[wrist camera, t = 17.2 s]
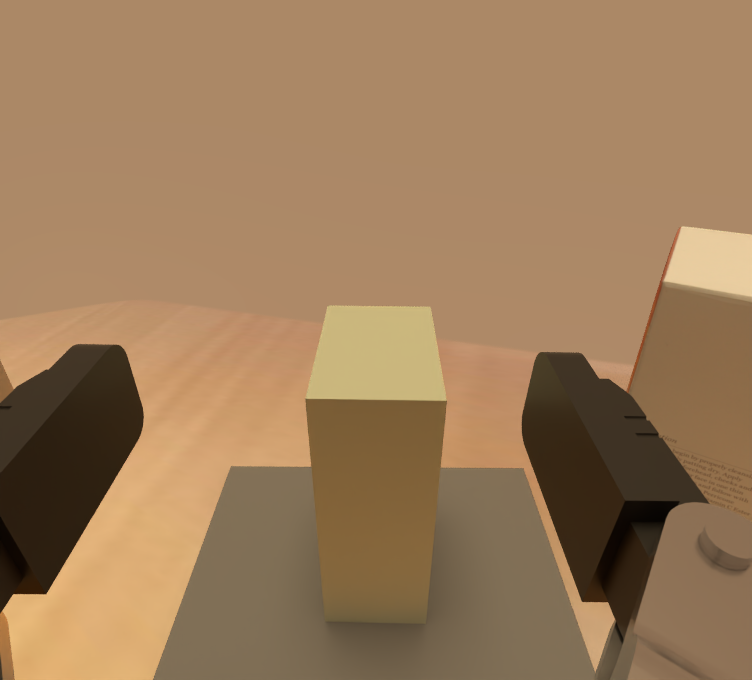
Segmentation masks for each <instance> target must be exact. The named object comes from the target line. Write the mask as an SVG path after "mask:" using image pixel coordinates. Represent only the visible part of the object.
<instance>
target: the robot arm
mask: <svg viewBox="0 0 752 680" xmlns="http://www.w3.org/2000/svg"><path fill="white" fill-rule="evenodd" d="M646 417H647V416H646V415H645V413H644V412H643V411H642V409H641V408H640V407H639V405H638V404H637V402H636V401H635V400H634V398H633V397H632V396H631V395H630V394H628V393H627V392H626V391H624V390H623V389H622V388H620V387H619V386H618V385H616V384H615V383H614V382H612V381H611V380H610V379H599V378H598V376H597V375H596V373H595V372H594V370H593V369H592V367H591V366H590V364H589V363H588V361H587V360H586V358H585V357H584V356H583V355H582V354H581V353H561V352H557V353H556V352H540V353H539V354H538V355H537V357H536V359H535V362H534V366H533V371H532V375H531V379H530V384H529V388H528V393H527V397H526V401H525V406H524V410H523V415H522V436H523V441H524V445H525V448H526V451H527V453H528V456H529V459H530V462H531V464H532V467H533V470H534V472H535V475H536V478H537V481H538V483H539V486H540V489H541V491H542V494H543V497H544V500H545V502H546V505H547V508H548V510H549V513H550V516H551V519H552V521H553V524H554V527H555V529H556V532H557V535H558V538H559V540H560V543H561V546H562V548H563V551H564V554H565V557H566V559H567V562H568V565H569V567H570V570H571V573H572V576H573V578H574V581H575V584H576V586H577V589H578V592H579V595H580V597H581V600H582V602H608V603H609V605H610V608H611V610H612V613H613V615H614V617H615V621H614V623H613V625H612V627H611V629H610V632H609V635H608V638H607V641H606V644H605V647H604V650H603V653H602V656H601V659H600V662H599V664H598V667H597V670H596V673H595V676H594V679H593V680H752V522H751V521H750V520H748V519H746V518H745V517H743V516H741V515H739V514H737V513H735V512H733V511H731V510H728V509H725V508H723V507H720V506H716V505H712V504H710V503H709V502H708V501H707V499H706V498H705V496H704V495H703V494H702V492H701V491H700V490H699V488H698V487H697V485H696V484H695V483H694V481H693V480H692V478H691V477H690V476H689V474H688V473H687V472H686V470H685V469H684V467H683V466H682V465H681V463H680V462H679V460H678V459H677V458H676V456H675V455H674V454H673V452H672V451H671V449H670V448H669V447H668V445H667V444H666V442H665V441H664V440H663V438H659V433H658V431H657V430H656V429H655V427H654V426H653V424H652V423H651V422H650V420H647V419H646ZM143 418H144V416H143V407H142V404H141V400H140V397H139V394H138V390H137V387H136V384H135V380H134V377H133V374H132V370H131V367H130V364H129V361H128V357H127V354H126V352H125V350H124V349H123V348H122V347H121V346H119V345H96V344H77V345H74V346H72V347H71V348H70V349H69V350H68V351H67V352H66V353H65V354H64V355H63V356H62V357H61V358H60V359H59V360H58V361H57V362H56V363H55V364H54V365H53V366H52V367H51V368H50V369H49V370H45V371H43V372H41V373H39V374H38V375H36V376H34V377H33V378H31V379H29V380H27V381H26V382H24V383H22V384H21V385H19V386H17V387H16V388H15V389H14V390H13V391H12V392H11V393H10V394H9V395H8V396H7V397H6V398H5V399H4V400H3V401H2V402H1V403H0V680H15V679H14V670H13V662H12V653H11V645H10V636H9V628H8V622H7V618H6V617H5V615H4V613H3V612H2V610H3V609H4V607H5V606H6V604H7V603H8V601H9V600H10V598H11V597H12V595H13V594H47V592H48V590H49V589H50V587H51V585H52V584H53V582H54V580H55V579H56V577H57V575H58V574H59V572H60V570H61V568H62V567H63V565H64V563H65V562H66V560H67V558H68V557H69V555H70V553H71V552H72V550H73V548H74V547H75V545H76V543H77V542H78V540H79V538H80V537H81V535H82V533H83V532H84V530H85V528H86V527H87V525H88V523H89V522H90V520H91V518H92V516H93V515H94V513H95V511H96V510H97V508H98V506H99V505H100V503H101V501H102V500H103V498H104V496H105V495H106V493H107V491H108V490H109V488H110V486H111V485H112V483H113V481H114V480H115V478H116V476H117V475H118V473H119V471H120V470H121V468H122V466H123V464H124V463H125V461H126V459H127V458H128V456H129V454H130V453H131V451H132V449H133V448H134V446H135V444H136V443H137V441H138V439H139V437H140V435H141V431H142V427H143Z"/></svg>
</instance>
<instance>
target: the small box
mask: <svg viewBox="0 0 752 680" xmlns="http://www.w3.org/2000/svg"><path fill="white" fill-rule="evenodd" d="M626 392H627V393H628V394H630V395H631V396H632V397H633V398H634V400H635V401H636V402H637V404H638V405H639V407H640V408H641V409H642V411H643V412H644V413H645V415H646V416H647V417H646V419H647V420H650V422H651V423H652V424H653V426H654V427H655V429H656V430H657V431H658V433H659V438H663V440H664V441H665V442H666V444H667V445H668V447H669V448H670V449H671V451H672V452H673V454H674V455H675V456H676V458H677V459H678V460H679V462H680V463H681V465H682V466H683V467H684V469H685V470H686V472H687V473H688V474H689V476H690V477H691V478H692V480H693V481H694V483H695V484H696V485H697V487H698V488H699V490H700V491H701V492H702V494H703V495H704V496H705V498H706V499H707V501H708V502H709V503H710V504H712V505H716V506H720V507H723V508H725V509H728V510H731V511H733V512H735V513H737V514H739V515H741V516H743V517H745V518H746V519H748V520H750V521H751V522H752V235H750V234H742V233H733V232H725V231H718V230H709V229H701V228H693V227H684V226H682V227H680V228H679V229H678V231H677V234H676V237H675V239H674V242H673V245H672V247H671V250H670V253H669V256H668V259H667V262H666V265H665V268H664V271H663V274H662V278H661V281H660V284H659V287H658V290H657V293H656V296H655V300H654V303H653V306H652V310H651V313H650V316H649V320H648V323H647V326H646V330H645V333H644V336H643V340H642V343H641V347H640V350H639V353H638V356H637V359H636V362H635V365H634V369H633V372H632V375H631V378H630V382H629V385H628V388H627V391H626Z"/></svg>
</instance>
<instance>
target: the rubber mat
mask: <svg viewBox="0 0 752 680" xmlns="http://www.w3.org/2000/svg"><path fill="white" fill-rule="evenodd" d="M594 676H595V671H594V668H593V666H592V663H591V660H590V657H589V654H588V651H587V648H586V646H585V643H584V640H583V637H582V634H581V631H580V628H579V626H578V623H577V620H576V617H575V614H574V611H573V609H572V606H571V603H570V600H569V597H568V594H567V591H566V589H565V586H564V583H563V580H562V577H561V574H560V572H559V569H558V566H557V563H556V560H555V557H554V554H553V552H552V549H551V546H550V543H549V540H548V537H547V534H546V532H545V529H544V526H543V523H542V520H541V517H540V515H539V512H538V509H537V506H536V503H535V500H534V497H533V495H532V492H531V489H530V486H529V483H528V480H527V478H526V475H525V472H524V469H523V468H440V478H439V489H438V499H437V510H436V521H435V531H434V542H433V553H432V563H431V574H430V585H429V595H428V606H427V616H426V624H411V623H366V622H325V616H324V605H323V594H322V582H321V571H320V559H319V548H318V537H317V525H316V514H315V502H314V491H313V480H312V468H311V467H241V466H231V468H230V470H229V473H228V476H227V479H226V481H225V484H224V487H223V490H222V492H221V495H220V498H219V501H218V503H217V506H216V509H215V512H214V514H213V517H212V520H211V523H210V525H209V528H208V531H207V533H206V536H205V539H204V542H203V544H202V547H201V550H200V553H199V555H198V558H197V561H196V564H195V566H194V569H193V572H192V575H191V577H190V580H189V583H188V586H187V588H186V591H185V594H184V596H183V599H182V602H181V605H180V607H179V610H178V613H177V616H176V618H175V621H174V624H173V627H172V629H171V632H170V635H169V638H168V640H167V643H166V646H165V649H164V651H163V654H162V657H161V659H160V662H159V665H158V668H157V670H156V673H155V676H154V679H153V680H593V679H594Z"/></svg>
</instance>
